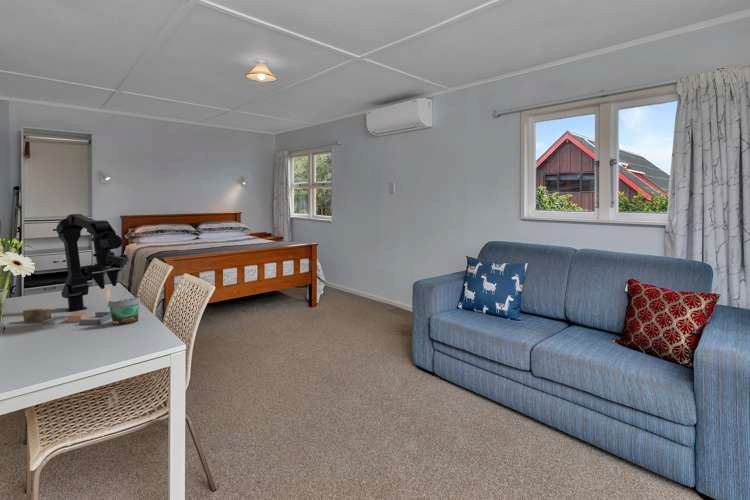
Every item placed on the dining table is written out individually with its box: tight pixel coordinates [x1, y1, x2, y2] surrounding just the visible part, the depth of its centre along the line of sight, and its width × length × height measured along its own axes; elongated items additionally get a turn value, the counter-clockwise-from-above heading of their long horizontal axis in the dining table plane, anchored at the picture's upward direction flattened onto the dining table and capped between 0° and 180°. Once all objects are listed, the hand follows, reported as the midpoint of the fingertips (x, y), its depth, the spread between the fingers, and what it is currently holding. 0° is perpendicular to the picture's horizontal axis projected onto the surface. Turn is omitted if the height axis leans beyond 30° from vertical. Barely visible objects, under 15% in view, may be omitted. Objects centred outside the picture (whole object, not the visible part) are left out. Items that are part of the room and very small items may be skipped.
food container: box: [107, 295, 141, 326], centre depth 170 cm, size 12×6×10 cm, turn 148°
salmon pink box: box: [67, 312, 89, 324], centre depth 173 cm, size 5×5×3 cm
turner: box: [22, 308, 69, 325], centre depth 172 cm, size 14×8×5 cm, turn 94°
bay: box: [78, 311, 112, 326], centre depth 174 cm, size 8×12×2 cm, turn 4°
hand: (108, 287), depth 175 cm, fingers open, 9 cm apart
